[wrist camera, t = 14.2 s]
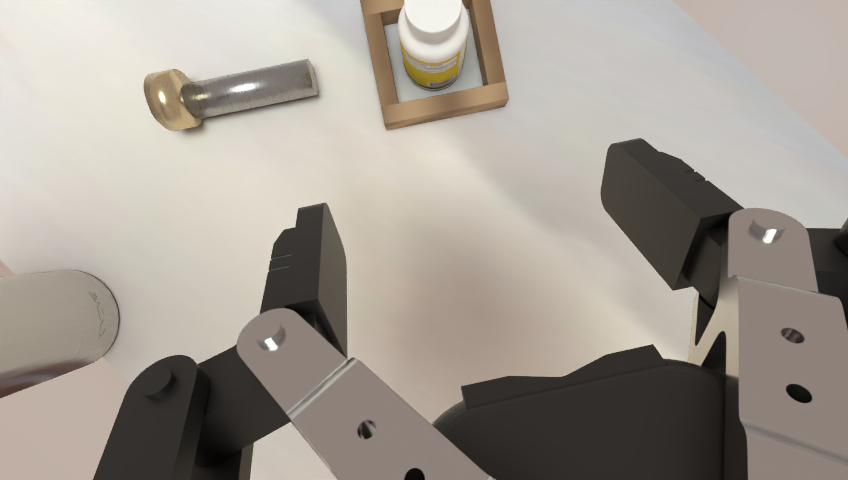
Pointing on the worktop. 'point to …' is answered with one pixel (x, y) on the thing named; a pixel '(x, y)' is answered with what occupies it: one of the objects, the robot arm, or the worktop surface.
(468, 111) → the collar block
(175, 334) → the worktop surface
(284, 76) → the shaft
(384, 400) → the robot arm
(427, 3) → the supplement bottle
